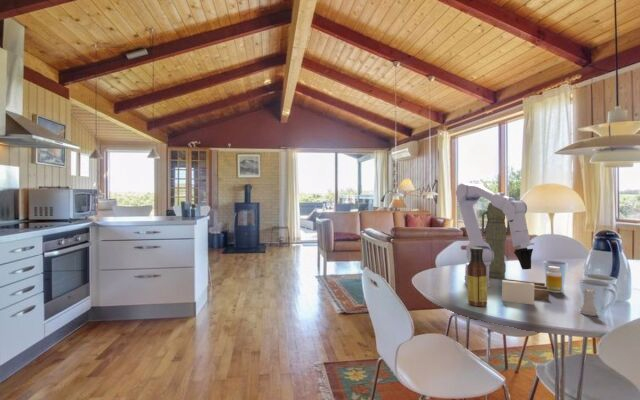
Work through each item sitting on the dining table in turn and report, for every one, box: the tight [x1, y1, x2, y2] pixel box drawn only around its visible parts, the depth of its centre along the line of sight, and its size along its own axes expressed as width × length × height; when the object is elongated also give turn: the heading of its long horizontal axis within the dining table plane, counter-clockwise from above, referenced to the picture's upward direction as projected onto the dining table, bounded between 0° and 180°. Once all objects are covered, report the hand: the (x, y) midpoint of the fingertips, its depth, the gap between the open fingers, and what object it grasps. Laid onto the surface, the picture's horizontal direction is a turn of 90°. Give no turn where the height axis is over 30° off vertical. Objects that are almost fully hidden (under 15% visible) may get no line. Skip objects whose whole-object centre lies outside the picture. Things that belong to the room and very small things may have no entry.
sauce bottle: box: [467, 247, 488, 308], centre depth 122 cm, size 7×6×20 cm
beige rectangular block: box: [501, 279, 535, 306], centre depth 126 cm, size 10×3×7 cm, turn 64°
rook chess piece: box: [580, 288, 598, 317], centre depth 114 cm, size 4×4×8 cm
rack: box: [501, 278, 550, 301], centre depth 137 cm, size 15×13×4 cm
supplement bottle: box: [545, 265, 563, 294], centre depth 141 cm, size 5×5×10 cm
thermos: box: [481, 202, 511, 280], centre depth 164 cm, size 9×12×35 cm
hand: (526, 269), depth 127 cm, fingers open, 7 cm apart
